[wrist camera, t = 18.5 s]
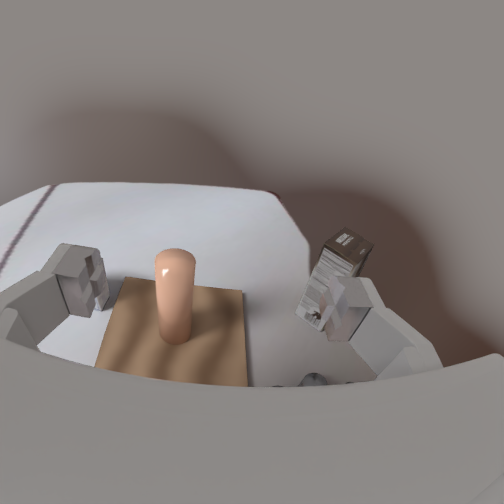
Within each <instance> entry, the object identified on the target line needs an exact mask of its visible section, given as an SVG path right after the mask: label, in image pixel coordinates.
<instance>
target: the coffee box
mask: <svg viewBox="0 0 504 504" xmlns="http://www.w3.org/2000/svg"><path fill="white" fill-rule="evenodd" d="M373 246H374V244H373V243H371V242H369V241H367V240H366V239H364V238H363V237H362V236H360V235H359V234H357V233H355V232H353V231H352V230H350V229H348V228H346V227H344V228H343V229H342V230H341V231H340V232H338V233H337V234H335V235H334V236H333V237H331V238H330V239H329V240H328V241H326V242H325V243H324V244H323V247H322V250H321V253H320V255H319V257H318V260H317V262H316V265H315V267H314V270H313V272H312V275H311V277H310V279H309V282H308V284H307V287H306V289H305V291H304V293H303V296H302V298H301V300H300V303H299V305H298V307H297V310H296V312H295V314H296V315H297V316H299V317H300V318H302V319H303V320H304V321H306V322H307V323H309V324H310V325H311V326H313V327H314V328H316V329H317V330H318V331H320V332H321V331H322V330H323V329H324V326H325V324H326V321H325V320H323V319H322V318H321V315H320V310H319V305H320V299H321V297H322V294H323V293H324V292H325V291H326V290H328V289H329V287H328V281H329V279H330V278H331V277H332V276H345V277H358V276H359V274H360V272H361V271H362V269H363V267H364V265H365V263H366V261H367V259H368V256H369V254H370V252H371V250H372V248H373Z"/></svg>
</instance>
